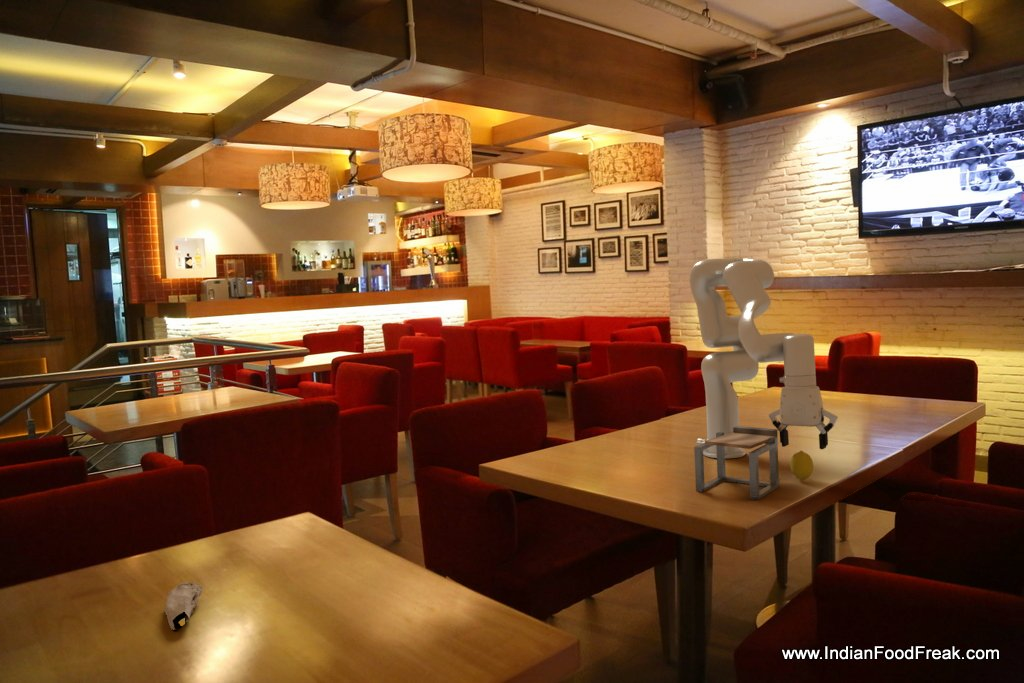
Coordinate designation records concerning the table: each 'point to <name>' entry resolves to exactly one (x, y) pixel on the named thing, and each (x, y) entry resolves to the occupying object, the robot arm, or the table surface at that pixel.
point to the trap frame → (753, 468)
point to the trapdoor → (744, 437)
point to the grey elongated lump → (182, 601)
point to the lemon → (801, 465)
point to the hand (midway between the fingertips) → (803, 447)
